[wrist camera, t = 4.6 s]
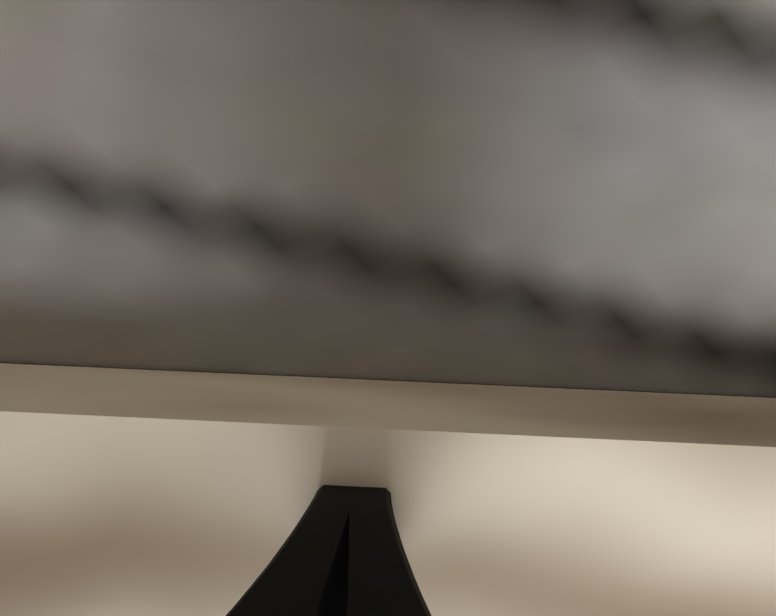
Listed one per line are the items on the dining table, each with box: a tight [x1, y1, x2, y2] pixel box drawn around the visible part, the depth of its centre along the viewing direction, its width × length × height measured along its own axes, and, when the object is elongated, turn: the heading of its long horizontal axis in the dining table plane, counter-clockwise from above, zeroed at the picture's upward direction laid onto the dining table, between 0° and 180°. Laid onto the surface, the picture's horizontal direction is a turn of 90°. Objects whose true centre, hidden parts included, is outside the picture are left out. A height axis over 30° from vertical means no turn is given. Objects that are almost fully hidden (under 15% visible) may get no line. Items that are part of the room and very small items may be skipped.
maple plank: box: [0, 363, 776, 616], centre depth 11 cm, size 8×24×2 cm, turn 88°
